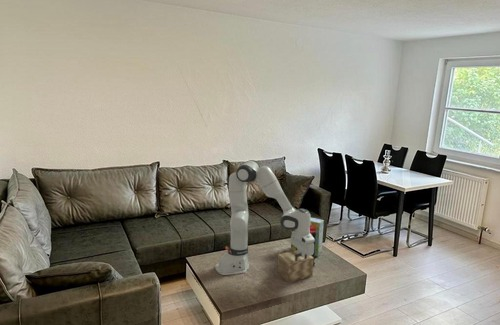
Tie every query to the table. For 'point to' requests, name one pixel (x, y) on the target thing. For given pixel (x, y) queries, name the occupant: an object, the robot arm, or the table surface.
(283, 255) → the carton lid
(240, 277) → the table surface
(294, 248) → the snack box
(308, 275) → the carton
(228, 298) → the table surface
